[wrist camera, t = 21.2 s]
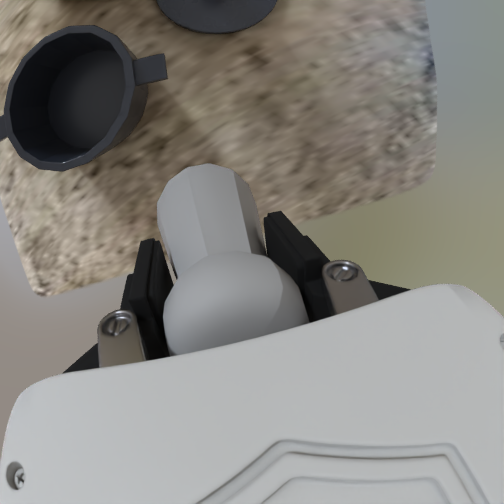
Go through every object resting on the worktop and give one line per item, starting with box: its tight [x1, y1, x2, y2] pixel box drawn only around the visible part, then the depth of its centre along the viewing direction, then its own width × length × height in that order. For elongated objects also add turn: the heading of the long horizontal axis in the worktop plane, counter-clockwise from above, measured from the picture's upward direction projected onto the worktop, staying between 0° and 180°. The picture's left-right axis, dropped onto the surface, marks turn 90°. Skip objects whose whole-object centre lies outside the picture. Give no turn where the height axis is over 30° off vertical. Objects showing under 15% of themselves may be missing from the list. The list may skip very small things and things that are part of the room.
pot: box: [0, 25, 168, 171], centre depth 21 cm, size 14×19×10 cm
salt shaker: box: [157, 163, 310, 357], centre depth 13 cm, size 6×6×13 cm
